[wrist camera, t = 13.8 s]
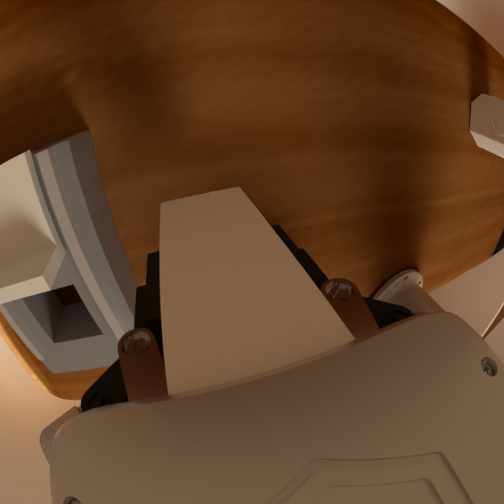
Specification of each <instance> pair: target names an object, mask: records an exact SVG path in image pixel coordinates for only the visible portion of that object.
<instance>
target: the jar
mask: <svg viewBox="0 0 504 504" xmlns="http://www.w3.org/2000/svg"><path fill="white" fill-rule="evenodd" d="M469 131H470V132H471V134H472V136H473V138H474V140H475V142H476V144H477V146H479V147H481V148H483V149H486V150H488V151H490V152H492V153H494V154H496V155H498V156H500V157H502V158H504V100H502V99H499V98H495V97H492V96H489V95H486V94H480V95H479V96H478V97H477V98H476V99H475V100H473V101H472V102H471V115H470V127H469Z"/></svg>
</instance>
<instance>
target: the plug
mask: <svg viewBox="0 0 504 504" xmlns="http://www.w3.org/2000/svg"><path fill="white" fill-rule="evenodd" d="M160 303H161V323H162V338H163V350H164V361H165V371H166V380H167V388H168V395H171V394H176V393H181V392H186V391H191V390H196V389H200V388H205V387H209V386H214V385H218V384H222V383H226V382H230V381H234V380H237V379H241V378H245V377H248V376H252V375H255V374H259V373H262V372H266V371H269V370H272V369H275V368H279V367H282V366H285V365H288V364H291V363H294V362H297V361H300V360H303V359H306V358H308V357H311V356H314V355H317V354H320V353H322V352H325V351H328V350H330V349H333V348H335V347H338V346H340V345H343V344H345V343H348V342H350V341H353V340H355V338H354V337H353V335H352V334H351V332H350V331H349V330H348V328H347V327H346V326H345V324H344V323H343V321H342V320H341V319H340V317H339V316H338V314H337V313H336V312H335V310H334V309H333V308H332V306H331V305H330V304H329V302H328V301H327V299H326V298H325V297H324V295H323V294H322V293H321V291H320V290H319V289H318V287H317V286H316V285H315V283H314V282H313V281H312V279H311V278H310V277H309V275H308V274H307V273H306V271H305V270H304V269H303V267H302V266H301V265H300V263H299V262H298V261H297V260H296V258H295V257H294V256H293V254H292V253H291V252H290V250H289V249H288V248H287V246H286V245H285V244H284V243H283V241H282V240H281V239H280V237H279V236H278V235H277V234H276V232H275V231H274V230H273V228H272V227H271V226H270V225H269V223H268V222H267V221H266V220H265V218H264V217H263V216H262V214H261V213H260V212H259V211H258V209H257V208H256V207H255V206H254V204H253V203H252V202H251V201H250V199H249V198H248V197H247V196H246V194H245V193H244V192H243V191H242V189H241V188H240V187H234V188H229V189H224V190H219V191H213V192H208V193H204V194H199V195H194V196H189V197H185V198H180V199H176V200H171V201H167V202H163V203H161V210H160Z"/></svg>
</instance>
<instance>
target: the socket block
mask: <svg viewBox="0 0 504 504" xmlns="http://www.w3.org/2000/svg"><path fill="white" fill-rule="evenodd" d="M31 155H32V159H33V162H34V166H35V170H36V173H37V177H38V180H39V183H40V186H41V189H42V192H43V195H44V198H45V201H46V204H47V207H48V210H49V212H50V215H51V218H52V220H53V223H54V225H55V228H56V230H57V233H58V235H59V238H60V240H61V242H62V245H63V247H64V249H65V251H66V254H65V256H64V258H63V261H62V263H61V265H60V268H59V270H58V273H57V275H56V278H55V280H54V283H53V285H52V288H51V290H50V291H46V292H43V293H39V294H35V295H31V296H28V297H24V298H20V299H17V300H13V301H10V302H6V303H2V304H0V311H1V313H2V314H3V316H4V317H5V318H6V320H7V321H8V323H9V324H10V325H11V327H12V328H13V329H14V330H15V332H16V333H17V334H18V336H19V337H20V338H21V339H22V341H23V342H24V343H25V344H26V345H27V347H28V348H29V349H30V350H31V351H32V353H33V354H34V355H35V356H36V357H37V358H38V359H39V360H41V361H42V362H43V363H44V364H45V366H46V367H47V368H48V369H49V370H50V371H51V372H52V373H53V374H55V373H63V372H71V371H79V370H86V369H93V368H99V367H105V366H111V365H112V364H113V363H114V362H115V361H116V360H117V359H118V358H119V355H118V350H117V345H118V342H119V340H120V338H121V337H122V336H123V335H124V334H125V333H126V332H128V331H130V330H132V329H134V317H135V300H136V289H137V287H138V284H137V282H136V280H135V277H134V275H133V272H132V270H131V267H130V265H129V262H128V260H127V257H126V254H125V252H124V249H123V246H122V243H121V241H120V238H119V235H118V232H117V229H116V226H115V223H114V220H113V217H112V214H111V211H110V208H109V204H108V201H107V198H106V194H105V191H104V187H103V184H102V180H101V177H100V173H99V169H98V165H97V161H96V157H95V153H94V148H93V144H92V139H91V134H90V129H88V130H85V131H82V132H79V133H77V134H74V135H71V136H69V137H66V138H64V139H61V140H59V141H56V142H54V143H51V144H49V145H47V146H44V147H42V148H40V149H38V150H36V151H33V152H31ZM73 284H74V286H75V288H76V290H77V292H78V294H79V295H80V297H81V299H82V301H80V302H76V303H72V304H68V305H64V306H63V304H62V303H61V301H60V299H59V298H58V296H57V294H56V293H55V291H54V289H58V288H61V287H65V286H69V285H73Z"/></svg>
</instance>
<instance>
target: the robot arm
mask: <svg viewBox="0 0 504 504" xmlns="http://www.w3.org/2000/svg"><path fill="white" fill-rule="evenodd" d="M271 227H272V228H273V230H274V231H275V232H276V234H277V235H278V236H279V237H280V239H281V240H282V241H283V243H284V244H285V245H286V246H287V248H288V249H289V250H290V252H291V253H292V254H293V256H294V257H295V258H296V260H297V261H298V262H299V263H300V265H301V266H302V267H303V269H304V270H305V271H306V273H307V274H308V275H309V277H310V278H311V279H312V281H313V282H314V283H315V285H316V286H317V287H318V289H319V290H320V291H321V293H322V294H323V295H324V297H325V298H326V299H327V301H328V302H329V304H330V305H331V306H332V308H333V309H334V310H335V312H336V313H337V314H338V316H339V317H340V319H341V320H342V321H343V323H344V324H345V326H346V327H347V328H348V330H349V331H350V332H351V334H352V335H353V337H354V338H355V340H353V341H350V342H348V343H345V344H343V345H340V346H338V347H335V348H333V349H330V350H328V351H325V352H322V353H320V354H317V355H314V356H311V357H308V358H306V359H303V360H300V361H297V362H294V363H291V364H288V365H285V366H282V367H279V368H275V369H272V370H269V371H266V372H262V373H259V374H255V375H252V376H248V377H245V378H241V379H237V380H234V381H230V382H226V383H222V384H218V385H214V386H209V387H205V388H200V389H196V390H191V391H186V392H181V393H176V394H171V395H168V388H167V380H166V371H165V361H164V350H163V338H162V323H161V303H160V251H158V252H154V253H149V254H148V258H147V275H146V285H143V286H139V287H137V289H136V300H135V317H134V329H132V330H130V331H128V332H126V333H125V334H124V335H123V336H122V337H121V338H120V340H119V342H118V345H117V350H118V355H119V358H118V359H117V360H116V361H115V362H114V363H113V364H112V365H111V366H110V367H109V368H108V369H107V370H106V371H105V372H104V374H103V375H102V376H101V377H100V378H99V379H98V380H97V381H96V382H95V383H94V384H93V385H92V386H91V387H90V388H89V389H88V390H87V391H86V392H85V394H84V395H83V397H82V400H81V406H79V407H76V406H74V407H73V408H71V409H70V410H69V411H67V412H66V413H65V414H63V415H62V416H61V417H59V418H58V419H57V420H55V421H54V422H53V423H51V424H50V425H49V426H47V427H46V428H45V429H44V430H43V431H42V433H41V435H40V445H41V448H42V450H43V452H44V454H45V456H46V458H47V460H48V462H49V464H50V484H51V496H52V504H504V364H503V362H502V361H501V360H500V358H499V357H498V356H497V355H496V353H495V352H494V351H493V350H492V349H491V347H490V346H489V345H488V344H487V343H486V342H485V341H484V339H483V338H482V337H481V336H480V335H479V334H478V333H477V332H476V331H475V330H474V329H473V328H472V327H471V326H470V325H469V324H468V323H466V322H465V321H464V320H463V319H462V318H460V317H459V316H457V315H455V314H453V313H450V312H445V311H444V310H443V309H442V308H441V307H440V306H439V305H438V304H437V303H436V302H435V301H434V300H433V299H432V298H431V297H430V296H429V295H428V294H427V293H426V292H425V291H424V290H423V289H422V284H423V278H422V275H421V274H420V273H419V272H418V271H416V270H415V269H407V270H404V271H402V272H400V273H398V274H396V275H395V276H393V277H392V278H391V279H389V280H388V281H387V282H386V283H385V284H384V285H383V286H382V287H381V288H380V289H379V290H378V291H377V293H376V294H375V295H374V296H373V298H372V299H371V298H367V297H363V296H362V295H361V293H360V291H359V290H358V288H357V286H356V285H355V284H354V283H352V282H351V281H349V280H346V279H342V278H334V279H330V280H329V279H328V278H327V277H326V275H325V274H324V273H323V272H322V271H321V269H320V268H319V267H318V266H317V265H316V263H315V262H314V261H313V260H312V259H311V257H310V256H309V255H308V254H307V253H306V251H305V250H304V249H298V248H297V246H296V245H295V244H294V243H293V242H292V240H291V239H290V238H289V237H288V236H287V234H286V233H285V232H284V231H283V230H282V228H281V227H280V226H279V225H275V226H271Z"/></svg>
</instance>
